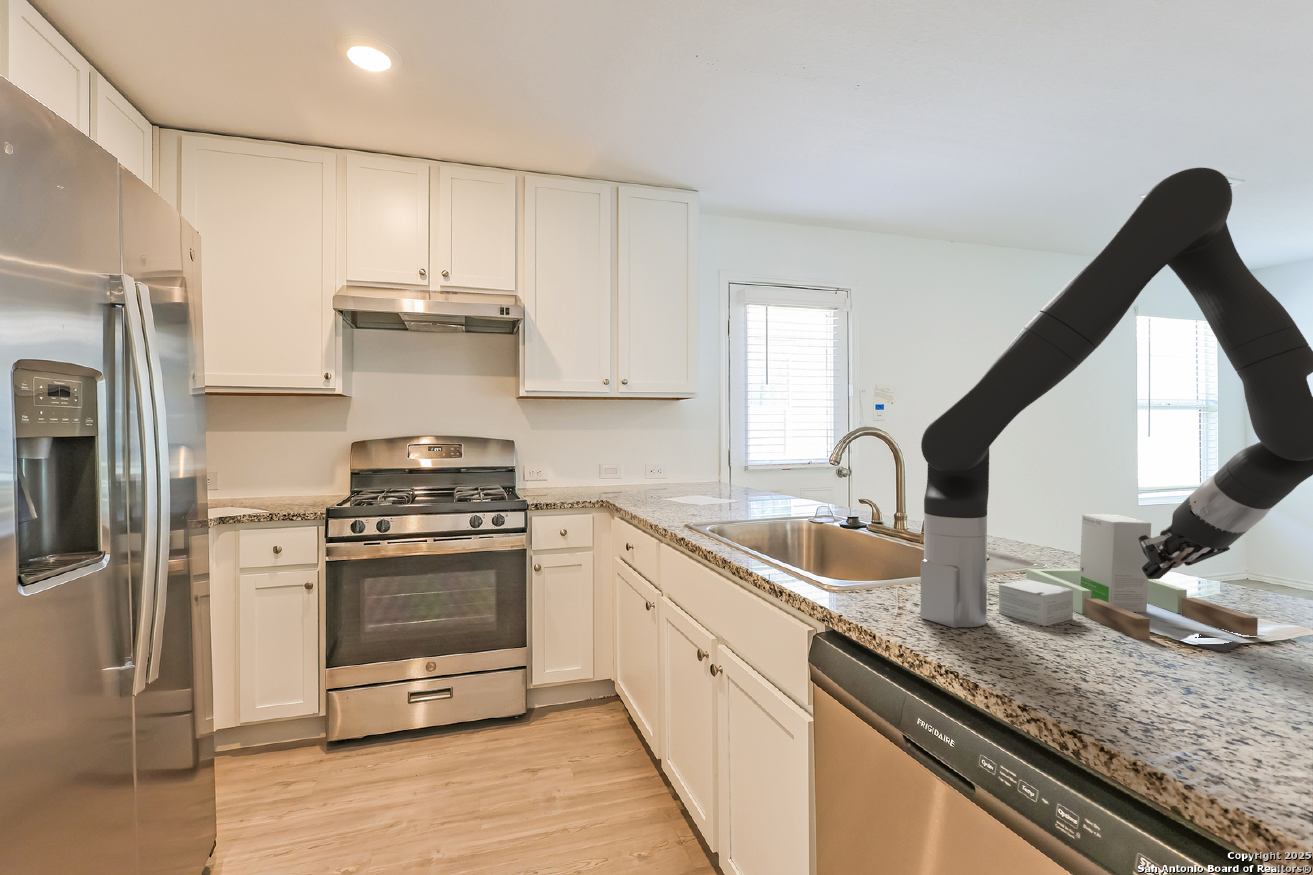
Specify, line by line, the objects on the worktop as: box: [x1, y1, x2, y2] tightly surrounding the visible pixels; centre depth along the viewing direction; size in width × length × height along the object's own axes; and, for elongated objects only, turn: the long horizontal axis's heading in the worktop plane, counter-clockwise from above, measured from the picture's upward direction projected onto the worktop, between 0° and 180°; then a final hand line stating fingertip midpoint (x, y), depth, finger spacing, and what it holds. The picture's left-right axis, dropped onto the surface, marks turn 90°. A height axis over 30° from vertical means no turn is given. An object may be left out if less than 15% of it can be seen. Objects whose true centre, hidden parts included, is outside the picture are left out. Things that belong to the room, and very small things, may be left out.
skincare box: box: [1079, 513, 1152, 613], centre depth 105 cm, size 8×7×16 cm
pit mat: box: [1195, 633, 1241, 654], centre depth 87 cm, size 6×5×1 cm
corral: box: [1025, 568, 1188, 615], centre depth 108 cm, size 15×18×4 cm
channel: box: [1084, 597, 1259, 640], centre depth 94 cm, size 10×18×3 cm, turn 90°
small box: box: [998, 579, 1074, 627], centre depth 100 cm, size 8×8×5 cm
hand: (1149, 574), depth 98 cm, fingers closed
